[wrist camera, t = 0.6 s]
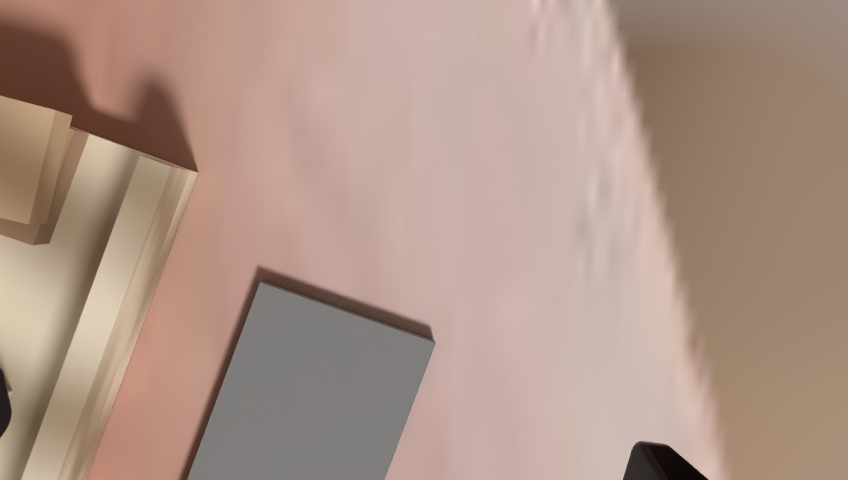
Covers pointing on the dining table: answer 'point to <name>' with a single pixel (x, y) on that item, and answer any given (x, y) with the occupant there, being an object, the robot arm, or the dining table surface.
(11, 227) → the offcut
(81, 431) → the rack
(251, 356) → the mat
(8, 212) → the offcut
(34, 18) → the dining table surface
